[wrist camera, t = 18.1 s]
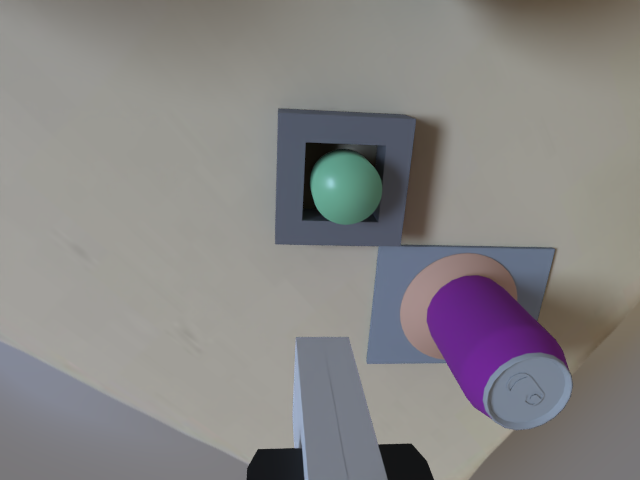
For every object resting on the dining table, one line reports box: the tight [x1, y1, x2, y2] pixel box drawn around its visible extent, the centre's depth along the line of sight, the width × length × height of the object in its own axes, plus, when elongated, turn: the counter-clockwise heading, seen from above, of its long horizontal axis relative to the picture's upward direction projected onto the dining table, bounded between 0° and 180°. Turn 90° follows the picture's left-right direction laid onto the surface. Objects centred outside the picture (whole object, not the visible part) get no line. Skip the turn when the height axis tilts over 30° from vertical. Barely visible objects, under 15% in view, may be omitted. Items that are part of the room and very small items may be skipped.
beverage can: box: [427, 275, 573, 430], centre depth 38 cm, size 8×8×12 cm
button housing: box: [275, 108, 416, 247], centre depth 37 cm, size 10×10×3 cm
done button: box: [310, 149, 382, 225], centre depth 35 cm, size 5×5×3 cm
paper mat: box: [367, 245, 555, 364], centre depth 44 cm, size 16×12×1 cm
